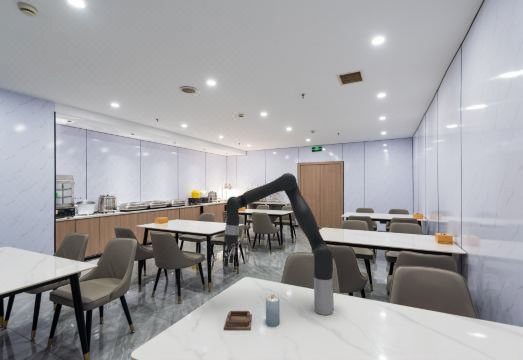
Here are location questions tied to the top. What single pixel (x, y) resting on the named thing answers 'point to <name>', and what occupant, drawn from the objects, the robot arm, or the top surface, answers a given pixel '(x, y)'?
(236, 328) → the tray
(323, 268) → the robot arm
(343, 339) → the top surface
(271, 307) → the candle jar
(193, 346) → the top surface
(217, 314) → the top surface
